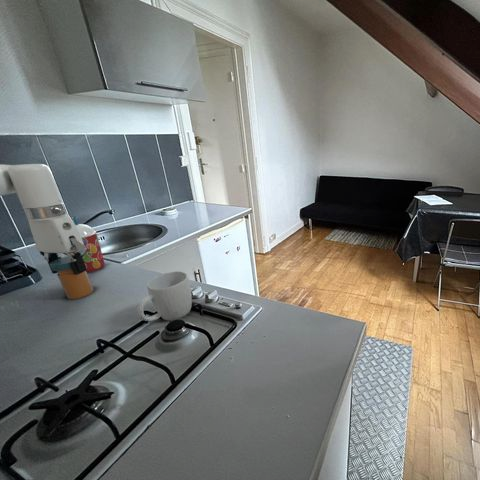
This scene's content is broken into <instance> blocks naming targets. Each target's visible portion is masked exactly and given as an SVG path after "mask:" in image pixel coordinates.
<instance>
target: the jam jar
mask: <svg viewBox="0 0 480 480" xmlns="http://www.w3.org/2000/svg"><path fill="white" fill-rule="evenodd" d="M57 272H58V273H56V275H57V278H58V280H59V282H60V284H61V287H62V289H63V292H64V293H65V295H66V297H67V299H68V300H76V299H80V298H83V297H86V296H88V295H90V294H92V293H93V292H94V287H93V285H92V283H91V280H90V278H89V275H88V272H86V271H84V272H82V273H80V274H78V275H75V274H74V272H73V270H72V269H68V270H63V271H57Z"/></svg>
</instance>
